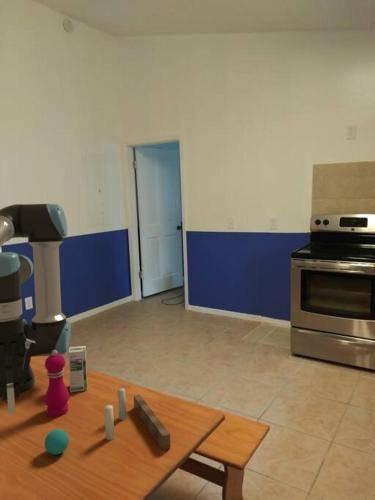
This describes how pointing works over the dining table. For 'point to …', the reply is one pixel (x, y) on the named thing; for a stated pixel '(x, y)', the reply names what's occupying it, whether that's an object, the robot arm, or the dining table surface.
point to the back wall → (152, 422)
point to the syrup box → (77, 368)
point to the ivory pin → (109, 422)
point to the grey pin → (122, 403)
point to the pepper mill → (56, 386)
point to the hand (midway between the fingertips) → (11, 411)
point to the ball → (56, 441)
